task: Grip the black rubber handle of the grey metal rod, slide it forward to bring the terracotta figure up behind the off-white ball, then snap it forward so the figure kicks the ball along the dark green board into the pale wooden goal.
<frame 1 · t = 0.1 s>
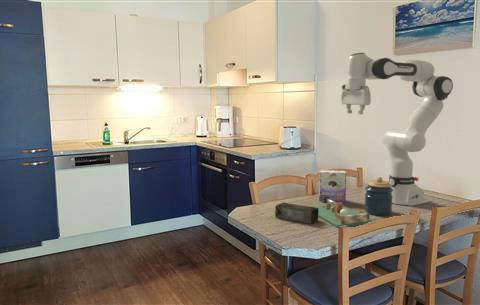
hand: (354, 113, 201), 48 cm above the table, tool pointing down, fingers open, 8 cm apart
ball: (343, 212, 187), point 3 cm above the table, touching pitch
pitch: (337, 215, 192), on the table
canister: (377, 212, 198), on the table
rod: (330, 203, 198), point 4 cm above the table, slide at 0.0 cm
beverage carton: (296, 219, 187), on the table
goal: (351, 222, 181), resting on pitch
candy box: (332, 201, 219), on the table
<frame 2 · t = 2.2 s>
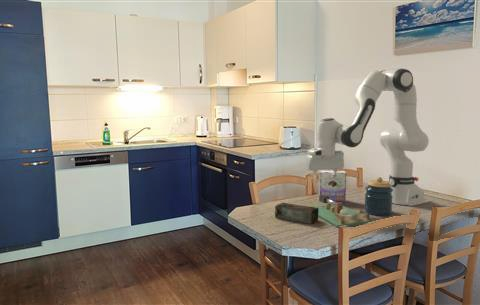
hand: (324, 178, 201), 16 cm above the table, tool pointing down, fingers open, 8 cm apart
nothing on the table moved.
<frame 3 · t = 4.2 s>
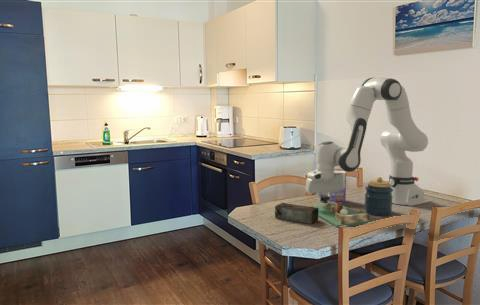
hand: (324, 200, 203), 4 cm above the table, tool pointing down, fingers closed on rod, 3 cm apart
rod: (330, 203, 198), point 4 cm above the table, slide at 0.0 cm, touching gripper
everything else where it was.
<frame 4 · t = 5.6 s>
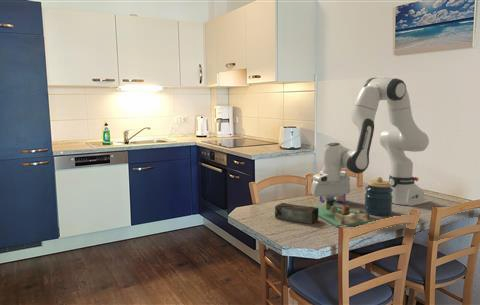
hand: (330, 203, 198), 4 cm above the table, tool pointing down, fingers closed on rod, 3 cm apart
ball: (352, 216, 180), point 3 cm above the table, tilted 153°, touching pitch
rod: (336, 206, 192), point 4 cm above the table, slide at 5.7 cm, touching gripper
everything else where it was.
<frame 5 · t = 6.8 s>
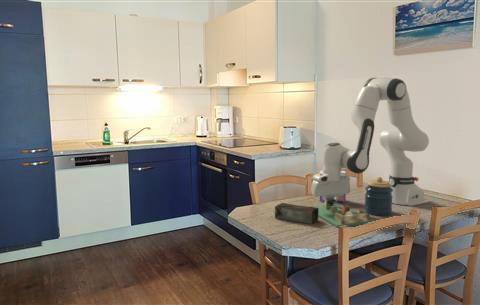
hand: (330, 203, 198), 4 cm above the table, tool pointing down, fingers closed on rod, 3 cm apart
ball: (349, 215, 183), point 3 cm above the table, tilted 127°, touching pitch
rod: (336, 206, 192), point 4 cm above the table, slide at 5.8 cm, touching gripper
everything else where it was.
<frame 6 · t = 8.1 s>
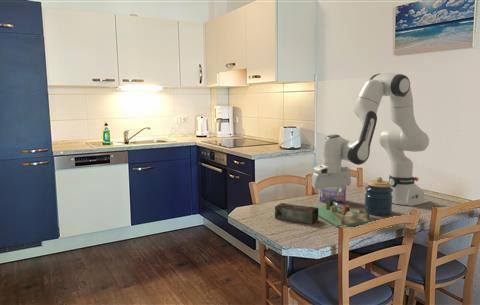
hand: (331, 195, 198), 8 cm above the table, tool pointing down, fingers open, 8 cm apart
ball: (349, 215, 182), point 3 cm above the table, tilted 136°, touching pitch
rod: (336, 206, 192), point 4 cm above the table, slide at 5.8 cm
everything else where it was.
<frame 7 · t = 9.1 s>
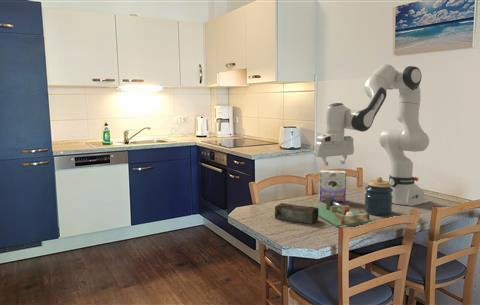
hand: (334, 164, 196), 23 cm above the table, tool pointing down, fingers open, 8 cm apart
ball: (349, 215, 182), point 3 cm above the table, tilted 143°, touching pitch
everything else where it was.
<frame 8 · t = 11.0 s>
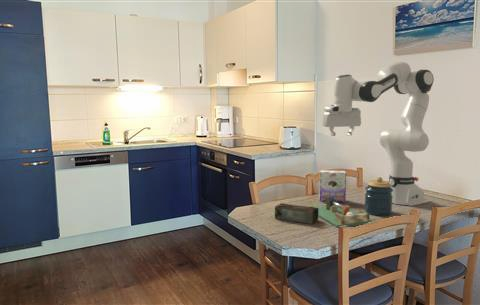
hand: (341, 135, 200), 37 cm above the table, tool pointing down, fingers open, 8 cm apart
ball: (350, 215, 182), point 3 cm above the table, tilted 157°, touching pitch
everything else where it was.
at the end: ball inside the target area (1.4 cm from its centre), point 2.8 cm above the table; ball moved 5.1 cm from its start; the gripper is holding nothing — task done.
